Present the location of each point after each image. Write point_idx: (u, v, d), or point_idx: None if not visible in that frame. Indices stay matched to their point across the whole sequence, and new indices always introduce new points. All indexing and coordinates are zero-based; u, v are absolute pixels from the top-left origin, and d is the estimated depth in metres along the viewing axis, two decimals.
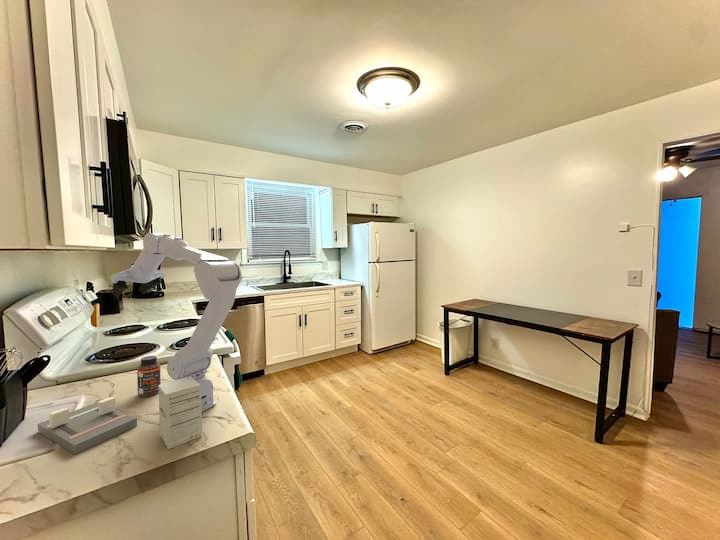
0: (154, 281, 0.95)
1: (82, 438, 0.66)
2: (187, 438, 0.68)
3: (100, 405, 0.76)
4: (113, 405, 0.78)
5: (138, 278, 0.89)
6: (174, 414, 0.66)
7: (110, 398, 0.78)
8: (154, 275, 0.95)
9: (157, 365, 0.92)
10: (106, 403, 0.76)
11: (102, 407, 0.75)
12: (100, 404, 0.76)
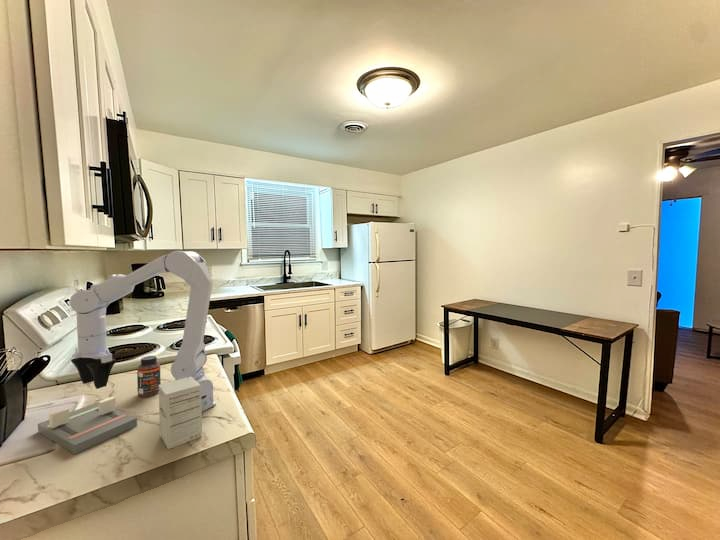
0: None
1: (82, 438, 0.66)
2: (187, 438, 0.68)
3: (100, 405, 0.76)
4: (113, 405, 0.78)
5: (106, 347, 0.80)
6: (174, 414, 0.66)
7: (110, 398, 0.78)
8: None
9: (157, 365, 0.92)
10: (106, 403, 0.76)
11: (102, 407, 0.75)
12: (100, 404, 0.76)
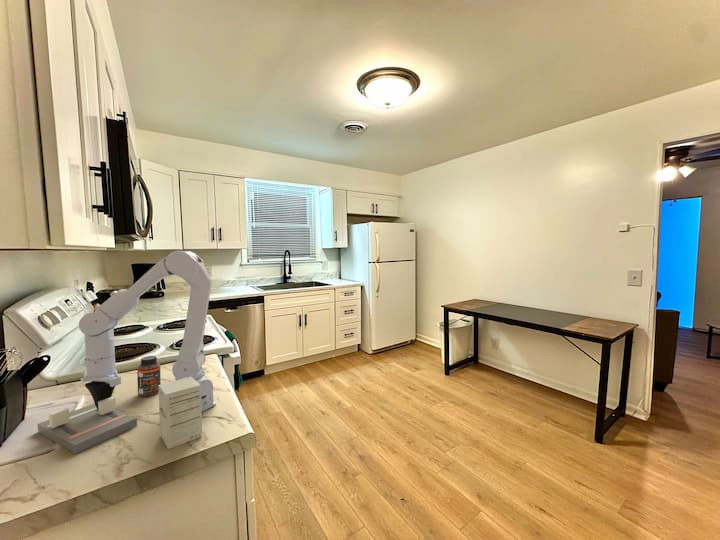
0: None
1: (82, 438, 0.66)
2: (187, 438, 0.68)
3: (100, 405, 0.76)
4: (113, 405, 0.78)
5: (114, 369, 0.79)
6: (174, 414, 0.66)
7: (110, 398, 0.78)
8: None
9: (157, 365, 0.92)
10: (106, 403, 0.76)
11: (102, 407, 0.75)
12: (100, 404, 0.76)
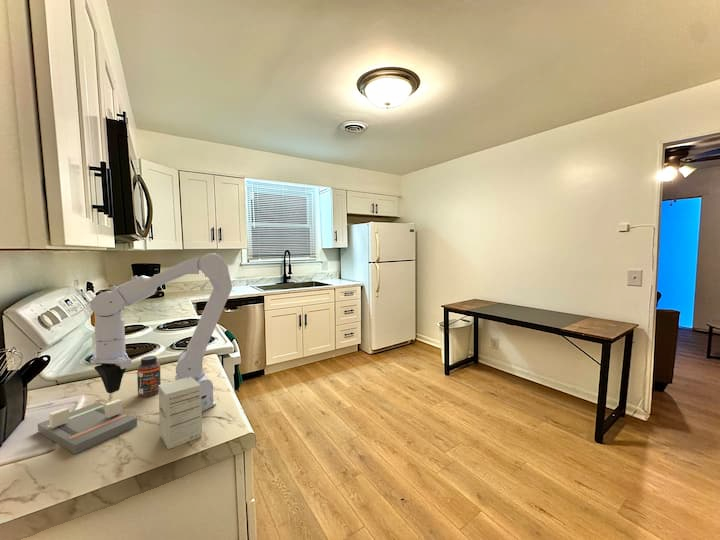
0: None
1: (82, 438, 0.66)
2: (187, 438, 0.68)
3: (106, 407, 0.74)
4: (119, 408, 0.76)
5: (124, 352, 0.76)
6: (174, 414, 0.66)
7: (116, 400, 0.76)
8: None
9: (157, 365, 0.92)
10: (112, 406, 0.75)
11: (108, 410, 0.74)
12: (106, 406, 0.74)
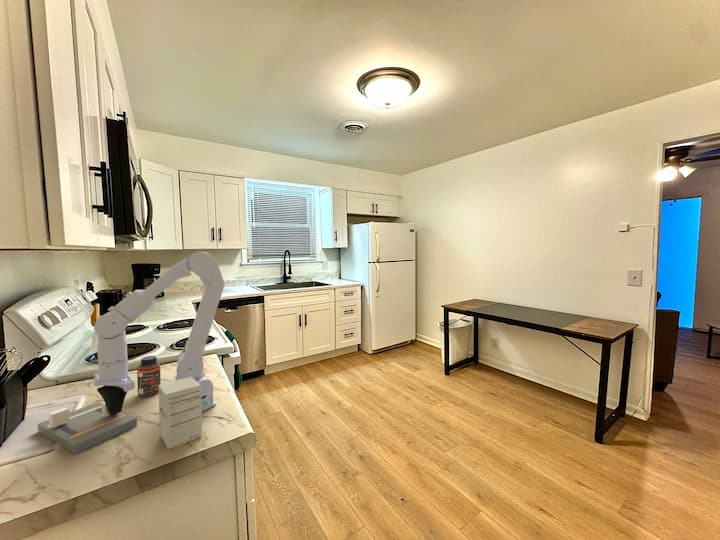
0: None
1: (82, 438, 0.66)
2: (187, 438, 0.68)
3: (104, 406, 0.75)
4: None
5: (127, 373, 0.76)
6: (174, 414, 0.66)
7: None
8: None
9: (157, 365, 0.92)
10: None
11: (105, 409, 0.75)
12: (104, 405, 0.75)
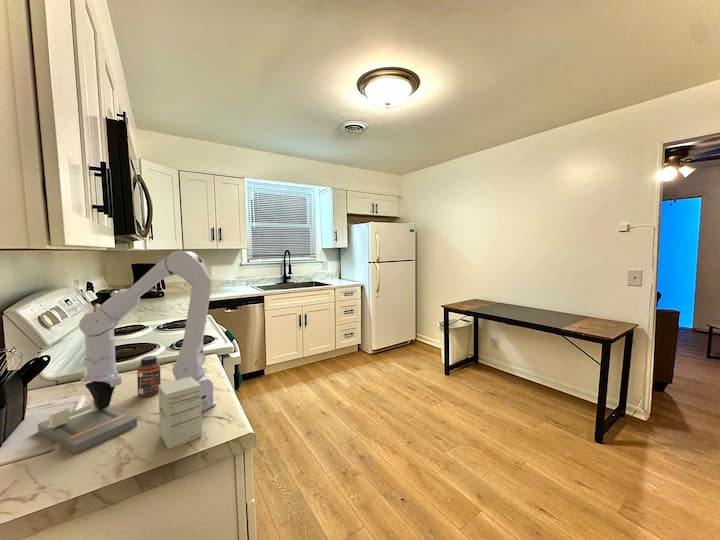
0: None
1: (82, 438, 0.66)
2: (187, 438, 0.68)
3: (92, 401, 0.77)
4: None
5: (114, 369, 0.79)
6: (174, 414, 0.66)
7: None
8: None
9: (157, 365, 0.92)
10: None
11: (94, 404, 0.77)
12: (92, 400, 0.77)
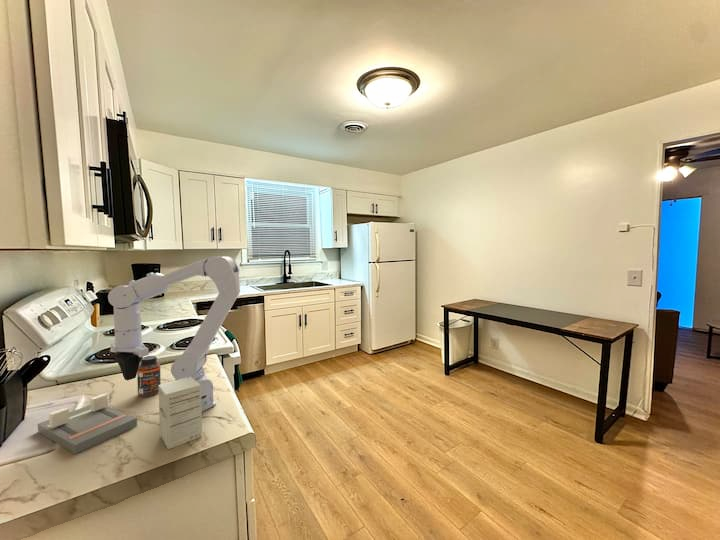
0: None
1: (82, 438, 0.66)
2: (187, 438, 0.68)
3: (92, 401, 0.77)
4: (105, 402, 0.79)
5: (141, 341, 0.81)
6: (174, 414, 0.66)
7: (102, 395, 0.79)
8: None
9: (157, 365, 0.92)
10: (98, 400, 0.78)
11: (94, 404, 0.77)
12: (92, 400, 0.77)
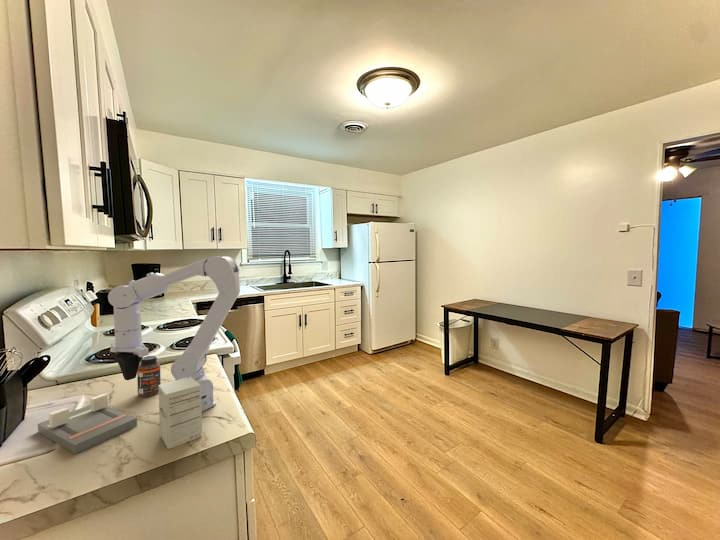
0: None
1: (82, 438, 0.66)
2: (187, 438, 0.68)
3: (92, 401, 0.77)
4: (105, 402, 0.79)
5: (141, 341, 0.81)
6: (174, 414, 0.66)
7: (102, 395, 0.79)
8: None
9: (157, 365, 0.92)
10: (98, 400, 0.78)
11: (94, 404, 0.77)
12: (92, 400, 0.77)
